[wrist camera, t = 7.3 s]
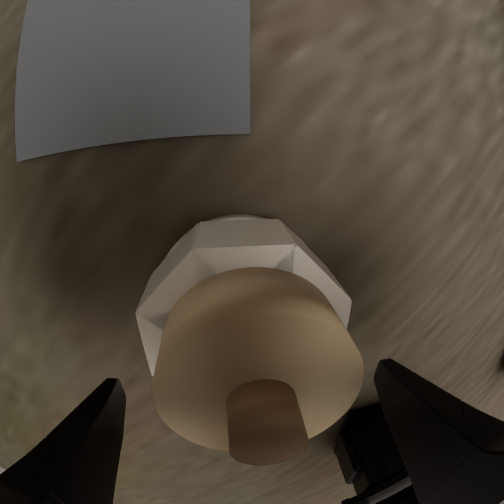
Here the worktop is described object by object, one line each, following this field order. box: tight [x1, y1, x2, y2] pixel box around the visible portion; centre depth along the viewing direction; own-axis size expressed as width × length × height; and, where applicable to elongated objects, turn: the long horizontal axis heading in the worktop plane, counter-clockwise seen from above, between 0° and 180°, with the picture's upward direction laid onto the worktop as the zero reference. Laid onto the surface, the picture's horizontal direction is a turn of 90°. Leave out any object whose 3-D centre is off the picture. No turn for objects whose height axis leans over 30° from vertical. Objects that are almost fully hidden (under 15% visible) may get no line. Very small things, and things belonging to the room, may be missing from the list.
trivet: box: [15, 0, 250, 162], centre depth 9 cm, size 11×11×1 cm
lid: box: [152, 267, 364, 465], centre depth 9 cm, size 7×7×5 cm
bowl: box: [135, 214, 352, 376], centre depth 13 cm, size 8×8×4 cm
